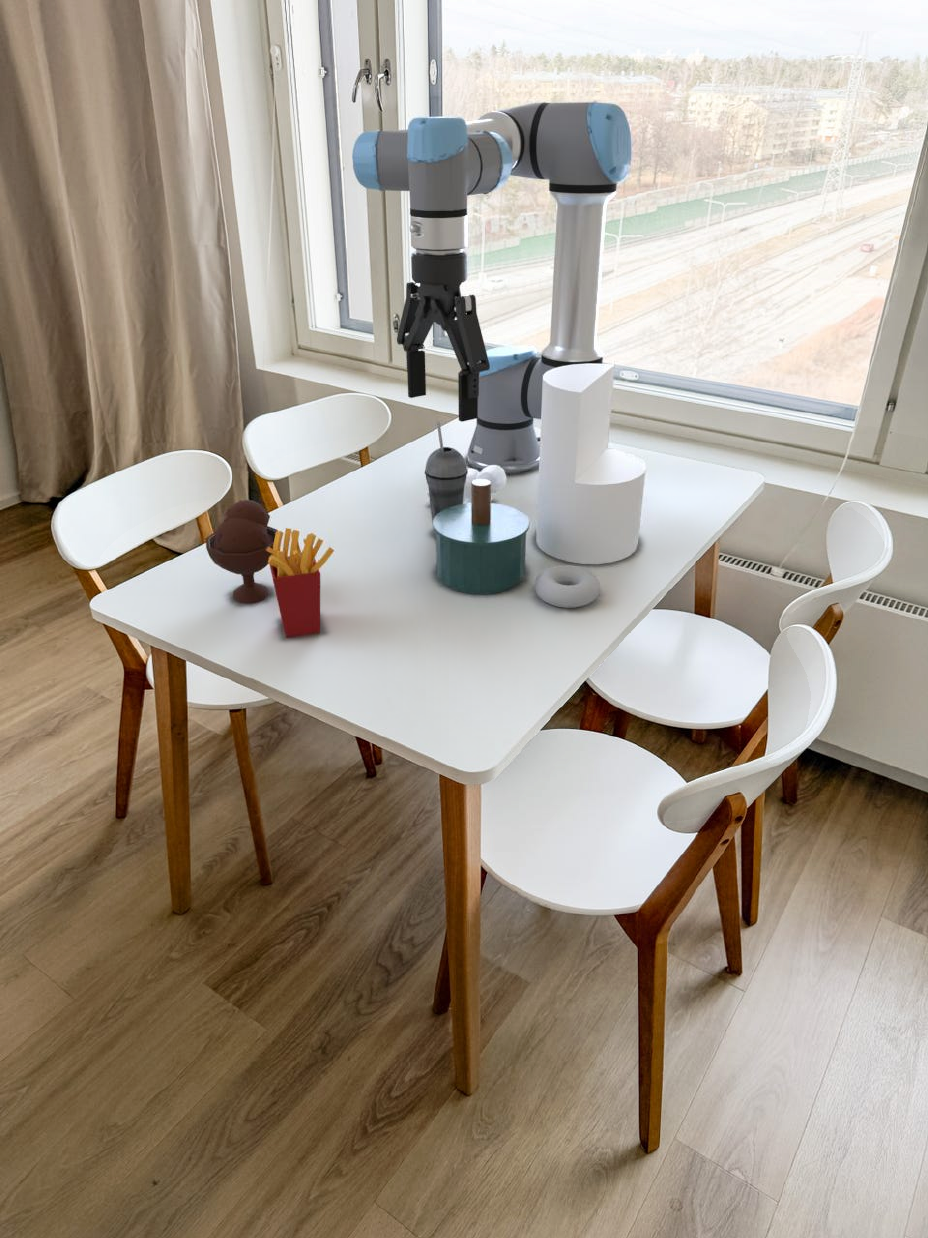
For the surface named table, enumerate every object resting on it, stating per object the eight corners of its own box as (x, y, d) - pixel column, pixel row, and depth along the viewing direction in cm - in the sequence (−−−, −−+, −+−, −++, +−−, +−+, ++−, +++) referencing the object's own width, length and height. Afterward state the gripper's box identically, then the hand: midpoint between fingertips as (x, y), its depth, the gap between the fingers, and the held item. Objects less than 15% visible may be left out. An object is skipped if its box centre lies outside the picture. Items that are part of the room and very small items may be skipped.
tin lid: (465, 501, 145) (465, 458, 141) (546, 521, 138) (548, 476, 134) (413, 534, 134) (412, 488, 130) (498, 558, 127) (499, 509, 123)
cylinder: (520, 552, 147) (526, 385, 132) (556, 513, 160) (564, 358, 146) (620, 572, 140) (637, 399, 126) (649, 530, 154) (667, 370, 139)
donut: (543, 576, 139) (525, 605, 131) (544, 557, 138) (526, 584, 130) (605, 587, 136) (591, 616, 128) (607, 567, 135) (593, 595, 127)
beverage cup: (463, 544, 149) (462, 430, 139) (421, 541, 150) (418, 428, 140) (471, 526, 155) (471, 416, 145) (431, 523, 157) (428, 414, 146)
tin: (465, 546, 149) (465, 499, 144) (540, 566, 142) (542, 518, 138) (419, 579, 138) (417, 530, 134) (497, 603, 132) (498, 552, 128)
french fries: (279, 642, 123) (267, 545, 115) (273, 613, 129) (261, 520, 122) (342, 632, 125) (333, 537, 117) (332, 605, 132) (324, 513, 124)
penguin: (433, 524, 163) (501, 511, 155) (417, 482, 160) (486, 465, 152) (455, 508, 170) (521, 494, 161) (440, 466, 167) (507, 450, 159)
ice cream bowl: (224, 577, 139) (209, 489, 132) (293, 578, 139) (283, 490, 131) (204, 611, 130) (188, 518, 122) (279, 612, 130) (267, 519, 122)
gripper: (368, 241, 123) (376, 391, 134) (469, 265, 106) (469, 435, 117) (414, 237, 127) (418, 383, 138) (518, 259, 109) (514, 424, 120)
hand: (441, 407), depth 127 cm, fingers open, 13 cm apart
